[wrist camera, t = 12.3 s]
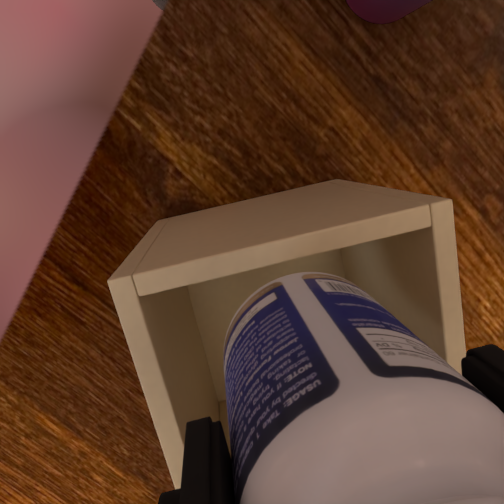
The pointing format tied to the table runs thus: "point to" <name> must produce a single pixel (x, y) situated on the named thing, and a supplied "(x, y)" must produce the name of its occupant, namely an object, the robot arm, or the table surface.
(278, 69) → the table surface
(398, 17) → the cup
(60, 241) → the table surface
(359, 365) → the pill bottle
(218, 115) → the table surface
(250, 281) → the cardboard box
